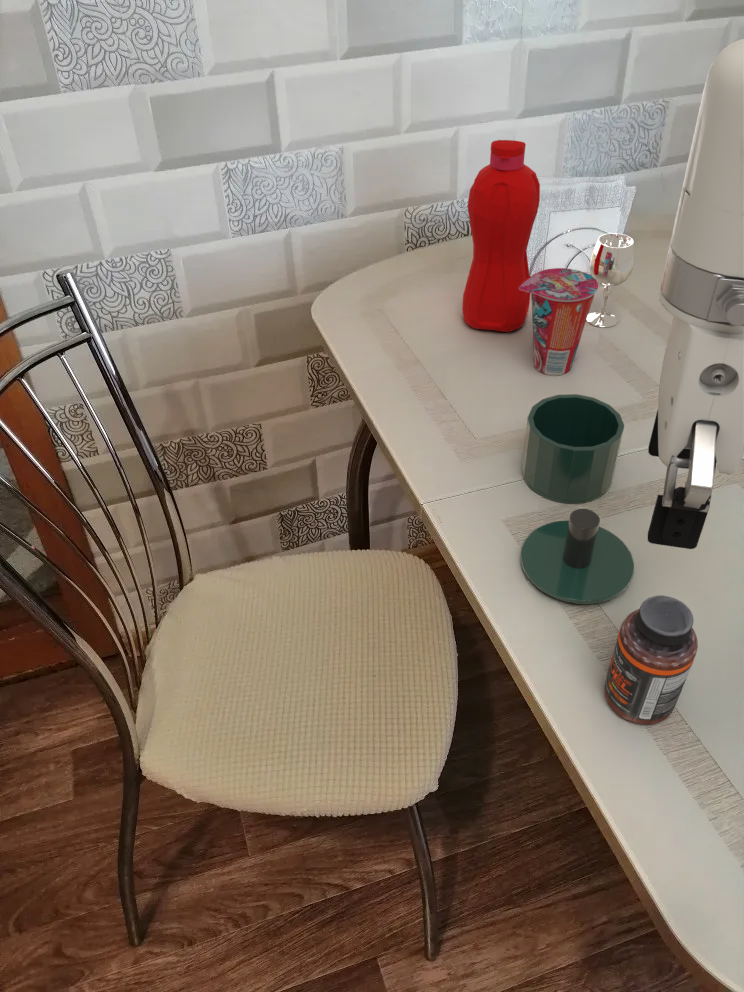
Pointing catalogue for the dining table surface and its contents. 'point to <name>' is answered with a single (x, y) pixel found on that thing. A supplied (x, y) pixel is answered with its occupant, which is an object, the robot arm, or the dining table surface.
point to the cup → (558, 316)
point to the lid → (577, 560)
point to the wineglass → (610, 270)
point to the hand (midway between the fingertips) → (669, 496)
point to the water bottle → (500, 239)
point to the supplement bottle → (651, 660)
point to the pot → (571, 448)
